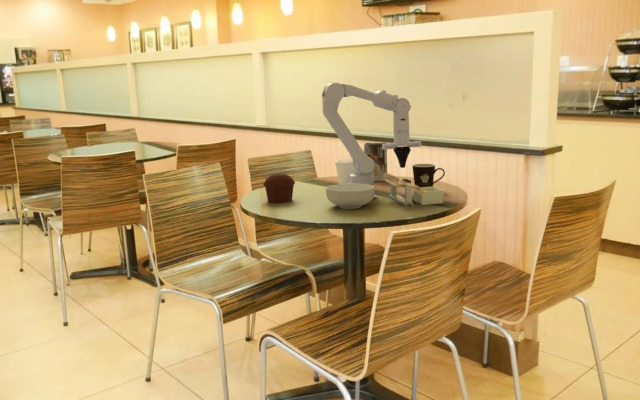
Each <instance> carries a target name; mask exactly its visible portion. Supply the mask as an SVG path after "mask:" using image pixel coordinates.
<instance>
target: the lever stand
mask: <svg viewBox="0 0 640 400" xmlns="http://www.w3.org/2000/svg"><path fill="white" fill-rule="evenodd" d="M389 184H390V183H389ZM389 186H390V194H389V195H388V197H389V198H390V199H392V200H393V201H395V202H396V203H398V204H400V205H401V206H404V207H414V202H413V189H412V186H411V185H407V186H405V188H404V197H403V196H401V195H399V194H398V193H397V192H398V189H397V187H398V186H394V185H392V184H390V185H389Z"/></svg>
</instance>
